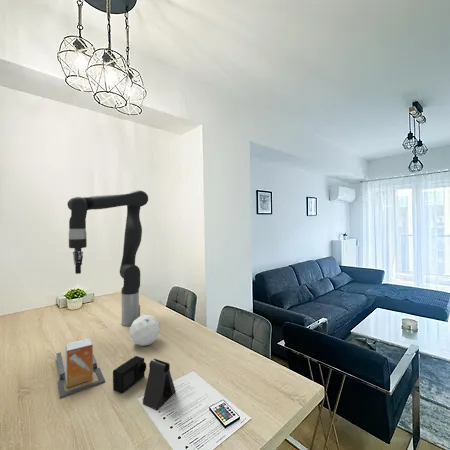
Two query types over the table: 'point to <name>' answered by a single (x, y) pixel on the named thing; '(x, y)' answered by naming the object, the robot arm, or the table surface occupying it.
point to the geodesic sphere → (144, 330)
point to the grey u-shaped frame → (61, 367)
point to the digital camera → (128, 374)
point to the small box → (79, 362)
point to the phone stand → (158, 384)
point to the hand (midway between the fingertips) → (78, 273)
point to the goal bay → (63, 393)
